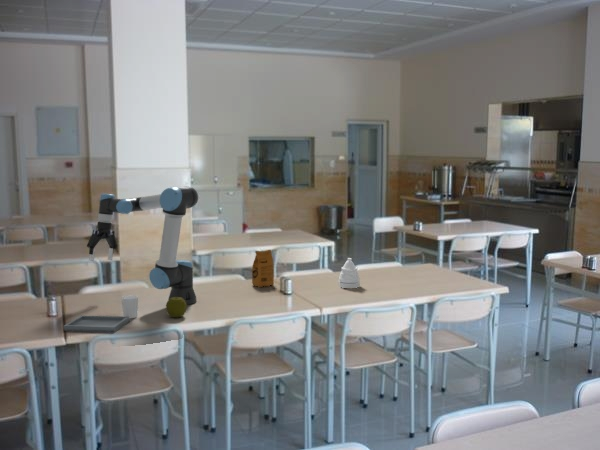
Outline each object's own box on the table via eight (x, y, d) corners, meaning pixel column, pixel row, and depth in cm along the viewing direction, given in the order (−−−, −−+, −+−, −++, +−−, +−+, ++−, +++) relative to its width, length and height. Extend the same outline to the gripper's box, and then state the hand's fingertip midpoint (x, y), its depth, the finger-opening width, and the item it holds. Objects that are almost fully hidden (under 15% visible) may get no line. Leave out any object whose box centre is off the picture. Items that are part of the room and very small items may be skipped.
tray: (129, 321, 294) (129, 316, 293) (114, 332, 276) (114, 327, 276) (81, 320, 296) (81, 315, 296) (63, 331, 278) (63, 325, 278)
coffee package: (250, 285, 375) (249, 250, 373) (267, 283, 382) (267, 248, 379) (257, 288, 367) (257, 252, 364) (275, 285, 373) (275, 250, 371)
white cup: (124, 314, 306) (123, 295, 305) (139, 314, 307) (139, 295, 306) (120, 319, 299) (120, 299, 297) (137, 318, 299) (136, 298, 298)
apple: (168, 320, 296) (167, 298, 295) (164, 315, 305) (164, 294, 304) (188, 318, 300) (188, 296, 299) (184, 313, 309) (183, 292, 308)
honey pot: (360, 289, 365) (360, 259, 362) (339, 289, 365) (339, 259, 363) (358, 284, 377) (359, 256, 375) (338, 284, 377) (338, 255, 375)
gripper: (116, 221, 346) (112, 258, 347) (82, 220, 324) (78, 259, 325) (126, 223, 343) (122, 260, 344) (92, 221, 321) (88, 261, 321)
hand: (100, 260), depth 334 cm, fingers open, 13 cm apart
